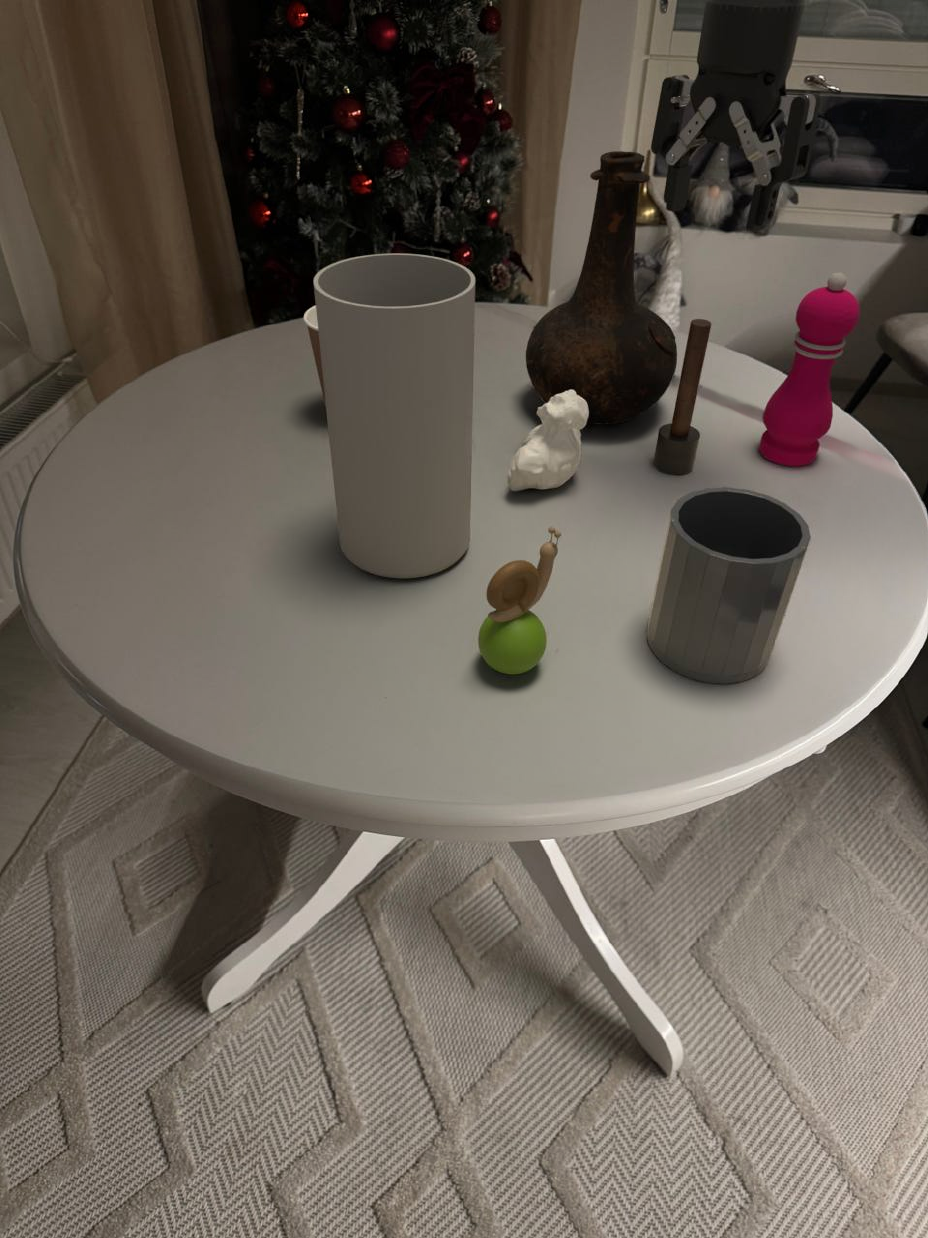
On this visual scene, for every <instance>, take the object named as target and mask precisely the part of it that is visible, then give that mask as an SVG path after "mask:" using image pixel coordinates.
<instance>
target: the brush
mask: <svg viewBox="0 0 928 1238" xmlns="http://www.w3.org/2000/svg"><path fill="white" fill-rule="evenodd" d="M689 324H690V325H689V328H688V329H689V331H688V335H687V340H686V345H685V351H684V356H683V361H682V367H681V372H680V376H679V383H678V387H677V393H676V399H675V404H674V409H673V414H672V420H671V422H670V423H666V424H663V425H661V426H660V427H659V429H658V432H657V433H658V434H657V439H656V444H655V449H654V456H653V461H652V463H653V466H654V467H655V468H656V469H657V470H658V471H660V472H662V473H664V474H669V475H675V476H679V475H686V474H689V473H690V472H691V471H692V470H693V469H694V465H695V461H696V456H697V452H698V447H699V443H700V439H701V433H700V431H699V430H698V429H697V428H696V427H694V426H692V421H693V416H694V411H695V406H696V401H697V397H698V392H699V387H700V382H701V377H702V372H703V367H704V362H705V358H706V354H707V353H706V352H707V348H708V343H709V338H710V333H711V329H712V322H711V321H709V320H707V319H702V318H695V319H692V320H691V321H690V323H689Z"/></svg>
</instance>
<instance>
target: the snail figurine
mask: <svg viewBox="0 0 928 1238" xmlns="http://www.w3.org/2000/svg"><path fill="white" fill-rule="evenodd" d="M548 534H550V540H549V541H547V542H545V543H543V544H542V545H541V546H540V549H539V557H540V558H539V561H538V564H537V566H535V565H534V564H533V563H532V562H529V561H527V560H524V559H523V560H522V559H517V560H512V561H510V562H507V563H505V564H504V565H502V566H501V567H500V568H499V569H498V570H497V571H496V572H495V573H494V574H493V576H492V577H491V578H490V580H489V582H488V584H487V588H486V600H487V603H488V605H489V606H490V607H491V608H493V609H495V610H493V611H490V612H488V614H487V616H486V618H485V619H484V620H483V622H482V623H481V626H480V628H479V631H478V636H477V644H478V649H479V653H480V655H481V657H482V659H483V660H484V661H485V662H486V664H487V665H488V666H489V667H490V668H492V669H493V670H494V671H497V672H499V673H501V674H505V675H519V674H523V673H526V672H528V671H530V670H531V669H533V668H535V666H537V665H538V664H539V662H540V661H541V660H542V658H543V656H544V654H545V652H546V650H547V649H546V648H547V642H548V641H547V639H548V638H547V632H546V629H545V626H544V624H543V622H542V621H541V619H540V618H539V617H538V616H537V615H536V613H534V612H533V611H531V610H530V609H532V608H533V607H534V606H535V605H536V604H537V603H539V601H540V600H541V598H542V597H543V595H544V593H545V591H546V589H547V587H548V584H549V582H550V579H551V576H552V572H553V568H554V562H555V559H556V557H557V555H558V552H559V548H558V543H559V538H561V537H562V532H561V531H560V530H556V528H555V527H554V526H549V527H548ZM553 536H554V537H555V538H556V543H555V542H553V541H552V540H553Z"/></svg>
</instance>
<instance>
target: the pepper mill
mask: <svg viewBox="0 0 928 1238" xmlns="http://www.w3.org/2000/svg"><path fill="white" fill-rule="evenodd" d="M847 281H848V279H847V276H846V275H845V274H844V273H842V272H835V273H832V274H831V275H830V276H829V277H828V279H827V282H826V286H822V287H818V288H815V289H813V290H811V291H810V292H808V293H807V294H806V295H805V296H804V297H803V298H802V299H801V301H800V302H799V304H798V307H797V309H796V311H795V322H796V325H797V327H798V329H799V331H797V332H796V333H795V335H794V341H793V342H792V348H793V350H794V351H795V352H794V359H793V362H792V366H791V368H790V371H789V373H788V374H787V376H786V378H785V379H784V380H783V382H782V383H781V384H780V385H779V387H778V388H777V389H776V390H775V391H774V392H773V394H772V395H771V396H770V398H769V399H768V401H767V403H766V406H765V407H764V410H763V413H762V422H763V425H764V427H765V429H766V430H765V431H763V432H762V434H761V438H760V442H759V446H758V450H759V453H760V454H761V455H762V457H764V458H765V459H766V460H769V461H770V462H772V463H774V464H778V465H783V466H786V467H787V466H788V467H803V466H807V465H810V464H811V463H813V462H814V461H815V460H816V458H817V456H818V455H817V454H818V451H819V449H820V441H819V439H821V438H822V437H824V436H825V435H826V434H827V433H828V432H830V429H831V427H832V421H833V417H834V407H833V406H834V405H833V400H832V394H831V386H830V385H831V383H830V382H831V375H832V370H833V367H834V364H835V362H836V360H837V358H839V357H840V356H842V355H843V353H844V347H845V345H846V344H847V342H846V340H845V337H847V336H848V335H850V333H852V332H853V331H854V329H856V327H857V325H858V322H859V318H860V313H861V311H860V304H859V301H858V299H857V298H856V295H854V294H853V293H852V292H850V291H849V290H847V289H844V288H845V287H846V285H847Z"/></svg>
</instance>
